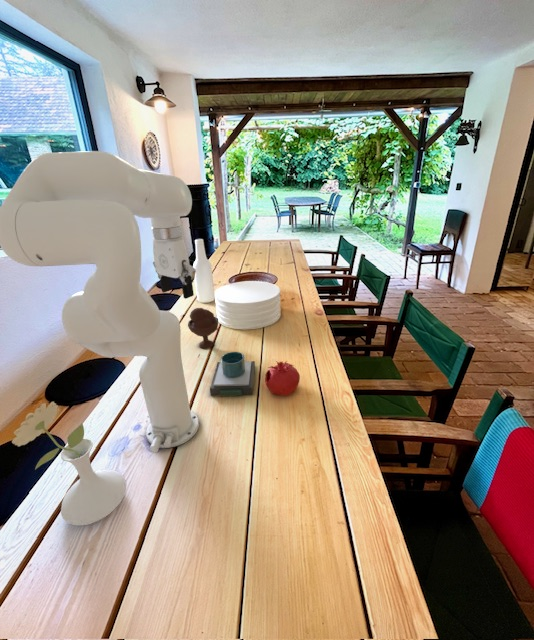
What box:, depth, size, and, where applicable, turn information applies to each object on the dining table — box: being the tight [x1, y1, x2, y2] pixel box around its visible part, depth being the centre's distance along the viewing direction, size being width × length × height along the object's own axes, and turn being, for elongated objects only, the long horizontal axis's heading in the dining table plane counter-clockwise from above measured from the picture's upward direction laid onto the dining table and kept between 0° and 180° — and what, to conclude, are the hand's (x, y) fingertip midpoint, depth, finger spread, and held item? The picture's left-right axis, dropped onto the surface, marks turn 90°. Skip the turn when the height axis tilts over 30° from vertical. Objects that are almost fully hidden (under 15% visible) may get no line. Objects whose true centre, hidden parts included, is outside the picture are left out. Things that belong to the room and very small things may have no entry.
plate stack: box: [214, 280, 282, 331], centre depth 140 cm, size 28×28×12 cm
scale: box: [209, 360, 256, 397], centre depth 97 cm, size 15×12×3 cm
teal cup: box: [220, 351, 246, 377], centre depth 96 cm, size 7×7×5 cm
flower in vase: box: [11, 400, 127, 526], centre depth 57 cm, size 13×11×25 cm
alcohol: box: [192, 238, 215, 304], centre depth 156 cm, size 9×9×30 cm
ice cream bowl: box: [187, 307, 219, 350], centre depth 116 cm, size 11×11×15 cm
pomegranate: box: [264, 360, 301, 397], centre depth 91 cm, size 10×10×9 cm
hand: (177, 293), depth 93 cm, fingers open, 9 cm apart
